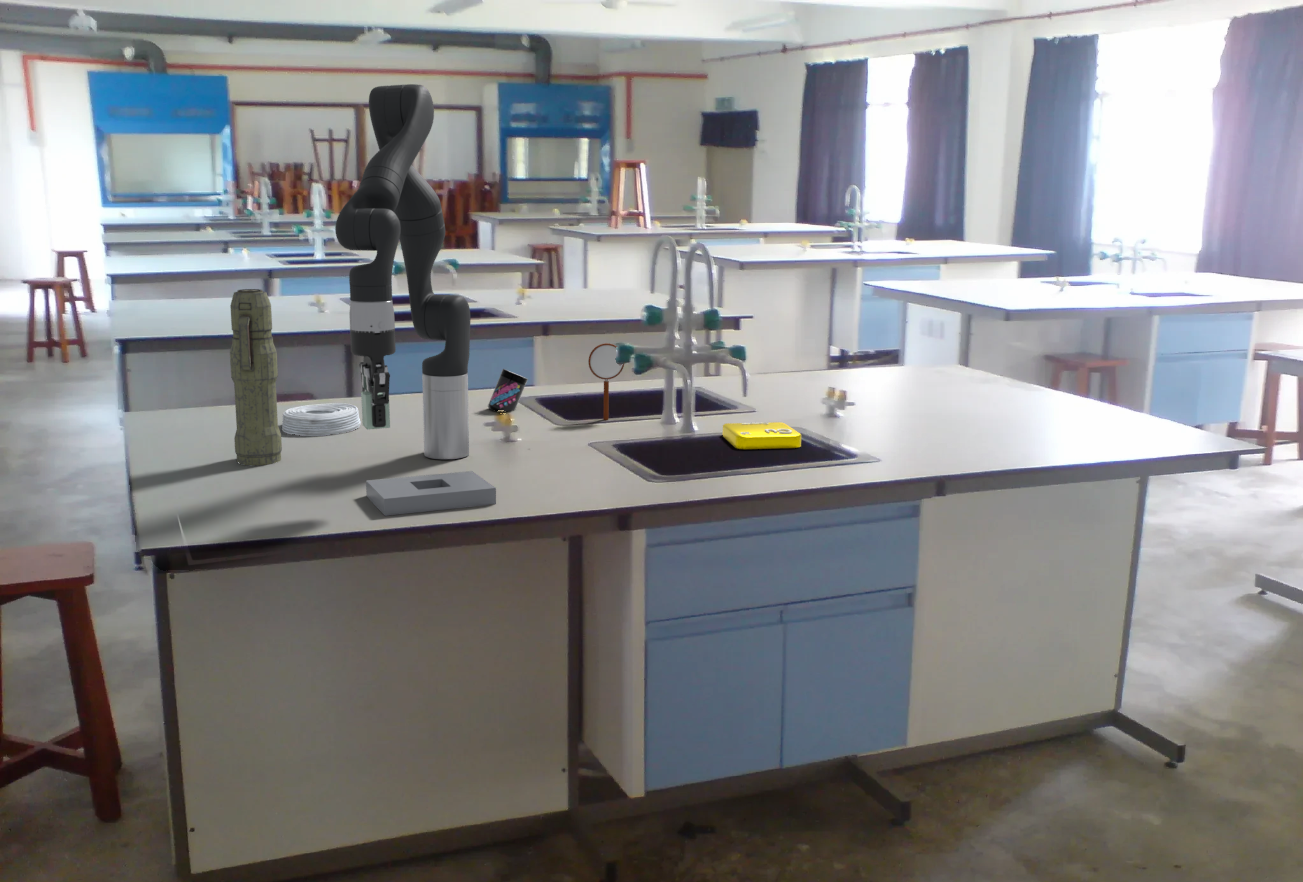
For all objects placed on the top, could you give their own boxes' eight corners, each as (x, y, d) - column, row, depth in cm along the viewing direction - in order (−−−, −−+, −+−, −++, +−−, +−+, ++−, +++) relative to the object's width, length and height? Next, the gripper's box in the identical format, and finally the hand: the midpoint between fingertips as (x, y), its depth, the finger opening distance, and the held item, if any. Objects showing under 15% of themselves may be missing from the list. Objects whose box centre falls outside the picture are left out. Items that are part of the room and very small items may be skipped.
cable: (371, 428, 275) (370, 403, 274) (345, 443, 258) (344, 416, 257) (299, 425, 277) (298, 400, 275) (269, 440, 260) (267, 414, 258)
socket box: (366, 496, 213) (365, 480, 213) (472, 486, 222) (472, 470, 221) (384, 515, 201) (384, 498, 200) (496, 504, 209) (495, 487, 209)
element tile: (783, 440, 270) (784, 419, 269) (803, 454, 256) (804, 433, 255) (720, 441, 268) (720, 421, 267) (736, 456, 253) (737, 434, 252)
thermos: (231, 471, 230) (220, 292, 223) (241, 457, 242) (231, 287, 235) (277, 470, 232) (269, 292, 225) (285, 456, 243) (277, 287, 236)
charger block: (362, 425, 206) (361, 391, 205) (385, 423, 208) (384, 390, 206) (367, 429, 202) (365, 395, 201) (390, 427, 204) (388, 393, 203)
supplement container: (481, 405, 289) (497, 366, 289) (500, 411, 294) (516, 373, 294) (498, 413, 285) (514, 373, 284) (517, 420, 290) (533, 381, 290)
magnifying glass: (623, 425, 282) (624, 342, 278) (624, 426, 281) (625, 343, 276) (587, 425, 281) (588, 343, 277) (588, 427, 279) (589, 343, 275)
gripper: (342, 322, 206) (347, 418, 210) (358, 332, 193) (362, 434, 197) (385, 320, 209) (389, 415, 213) (403, 330, 196) (407, 430, 200)
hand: (376, 423), depth 205 cm, fingers closed on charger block, 4 cm apart
